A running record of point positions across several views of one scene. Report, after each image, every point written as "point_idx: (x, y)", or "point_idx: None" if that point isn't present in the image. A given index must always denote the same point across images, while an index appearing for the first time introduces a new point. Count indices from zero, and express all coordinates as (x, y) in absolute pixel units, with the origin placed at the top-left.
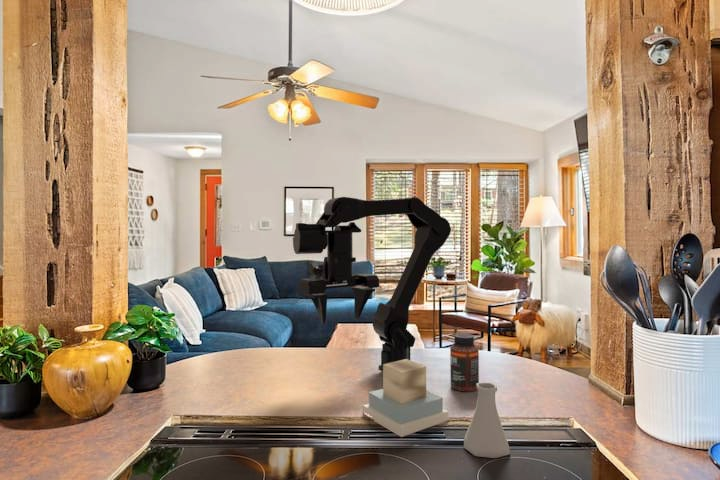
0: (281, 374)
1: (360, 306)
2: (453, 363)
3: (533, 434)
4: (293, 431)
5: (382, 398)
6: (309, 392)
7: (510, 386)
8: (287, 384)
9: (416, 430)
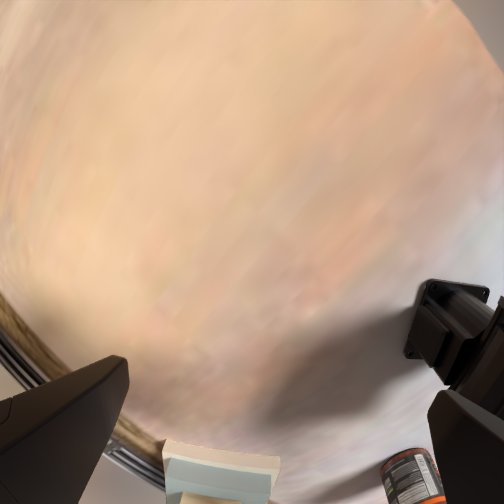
0: (144, 92)
1: (448, 501)
2: (395, 502)
3: None
4: None
5: (169, 495)
6: (127, 291)
7: None
8: (109, 191)
9: None
